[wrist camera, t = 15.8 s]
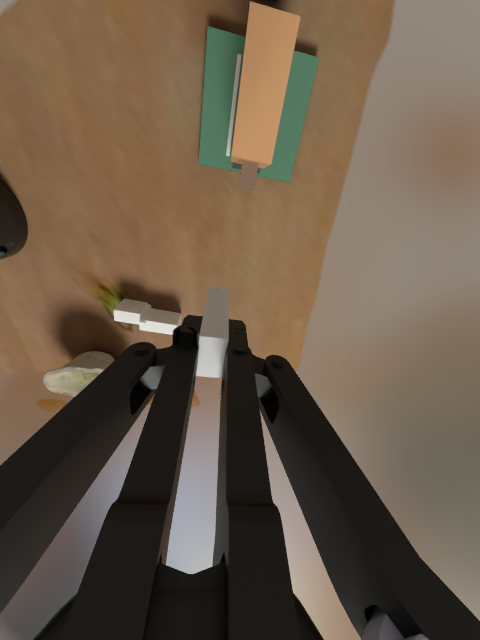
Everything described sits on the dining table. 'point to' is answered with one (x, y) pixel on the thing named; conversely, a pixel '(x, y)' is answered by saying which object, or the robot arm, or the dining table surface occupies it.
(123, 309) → the napkin holder
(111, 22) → the dining table surface
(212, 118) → the board
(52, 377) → the bowl
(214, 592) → the robot arm
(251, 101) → the block
